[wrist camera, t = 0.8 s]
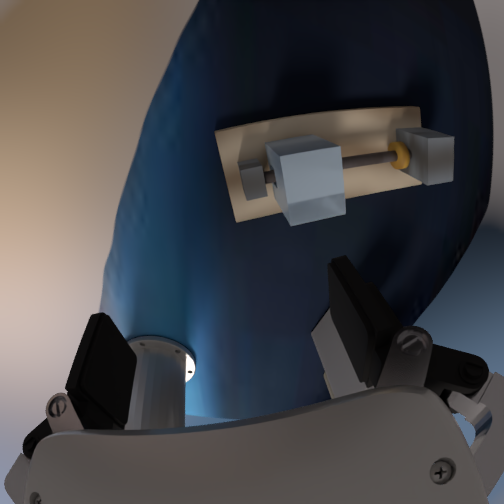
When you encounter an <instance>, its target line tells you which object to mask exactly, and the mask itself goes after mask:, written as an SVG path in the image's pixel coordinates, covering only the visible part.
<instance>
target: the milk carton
mask: <svg viewBox="0 0 504 504" xmlns="http://www.w3.org/2000/svg"><path fill="white" fill-rule="evenodd" d="M311 335H312V338H313V340H314V343H315V346H316V348H317V351H318V353H319V356H320V359H321V361H322V364H323V367H324V370H325V372H326V375H327V378H328V380H329V383H330V386H331V389H332V391H333V394H334V397H335V398H338V397H341V396H345V395H349V394H352V393H356V392H360V391H364V390H368V389H373V388H374V386H372V387H370V388H367V387H366V385H365V382H362V383H360V382H359V380H358V377H357V375H356V373H355V370H354V368H353V366H352V363H351V361H350V359H349V357H348V354H347V352H346V350H345V347H344V345H343V343H342V341H341V338H340V336H339V334H338V332H337V330H336V327H335V325H334V323H333V321H332V318H331V314H330V308H329V310H328V311H327V312H326V314H325V315H324V317H323V318H322V319H321V321H320V322H319V323H318V325H317V326H316V327H315V329H314V330H313V331H312V333H311Z"/></svg>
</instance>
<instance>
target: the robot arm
mask: <svg viewBox="0 0 504 504" xmlns="http://www.w3.org/2000/svg"><path fill="white" fill-rule="evenodd" d="M328 281H329V299H330V314H331V318H332V321H333V323H334V325H335V327H336V330H337V332H338V334H339V336H340V338H341V341H342V343H343V345H344V347H345V350H346V352H347V354H348V357H349V359H350V361H351V363H352V366H353V368H354V370H355V373H356V375H357V377H358V380H359V382H360V383H362V382H365V385H366V387H367V388H370V387H372V386H374V388H373V389H368V390H364V391H360V392H356V393H352V394H349V395H345V396H341V397H338V398H334V399H331V400H327V401H323V402H320V403H316V404H312V405H308V406H304V407H300V408H296V409H292V410H287V411H283V412H278V413H274V414H269V415H264V416H259V417H253V418H248V419H242V420H236V421H229V422H223V423H215V424H207V425H199V426H189V427H185V386H186V382H187V381H188V380H190V379H191V378H192V377H193V375H194V373H195V369H196V363H195V359H194V357H193V355H192V353H191V352H190V351H189V350H188V349H187V348H185V347H184V346H183V345H181V344H179V343H177V342H175V341H173V340H170V339H167V338H163V337H158V336H142V337H137V338H134V339H132V340H130V341H128V342H127V341H126V340H125V338H124V337H123V336H122V334H121V333H120V331H119V330H118V328H117V327H116V325H115V324H114V322H113V321H112V319H111V318H110V316H109V315H106V314H105V313H103V312H102V313H97V314H92V315H91V317H90V319H89V321H88V324H87V326H86V329H85V331H84V334H83V337H82V339H81V342H80V345H79V348H78V350H77V353H76V356H75V359H74V362H73V365H72V368H71V370H70V374H69V377H68V380H67V383H66V386H65V389H66V390H67V391H68V392H67V395H66V394H65V393H57V394H55V395H54V396H53V397H51V398H50V400H49V401H48V403H47V406H46V416H47V418H46V419H45V420H44V421H43V422H42V423H41V424H39V425H38V426H37V427H36V428H35V429H34V430H33V431H31V432H30V433H29V434H28V435H27V436H26V438H25V439H24V442H23V453H24V455H23V454H22V453H21V454H20V455H19V457H18V458H17V460H16V462H15V463H14V465H13V466H12V468H11V469H10V471H9V473H8V474H7V476H6V478H5V483H4V485H5V489H6V491H7V493H8V495H9V496H10V497H11V499H12V500H13V502H14V503H15V504H489V503H488V500H487V496H488V495H489V494H490V492H491V491H492V489H493V488H494V486H495V485H496V483H497V481H498V480H499V478H500V476H501V475H502V473H503V471H504V377H503V376H502V375H500V374H498V373H497V372H495V373H494V374H492V373H491V372H489V369H488V366H487V364H486V362H485V361H484V360H483V359H482V358H481V357H479V356H476V355H473V354H469V353H466V352H462V351H458V350H454V349H450V348H447V347H443V346H439V345H436V344H433V340H432V338H431V336H430V334H429V333H428V332H427V331H426V330H424V329H423V328H420V327H417V326H407V327H403V326H402V324H401V323H400V321H399V320H398V318H397V317H396V315H395V314H394V312H393V311H392V309H391V308H390V306H389V305H388V303H387V302H386V300H385V299H384V297H383V296H382V294H381V293H380V292H379V290H378V289H377V287H376V286H375V285H374V284H373V283H372V282H369V283H365V282H364V281H363V279H362V278H361V276H360V275H359V273H358V272H357V270H356V269H355V267H354V266H353V265H352V263H351V262H350V260H349V259H348V257H347V256H345V255H344V256H340V257H337V258H333V259H332V260H331V263H328ZM452 413H454V414H456V413H460V414H462V415H463V416H465V417H466V418H465V420H467V421H468V422H470V423H471V424H472V425H473V426H474V428H475V431H476V436H475V440H474V442H473V444H472V445H471V447H470V448H469V446H468V444H467V442H466V439H465V437H464V435H463V433H462V431H461V429H460V427H459V425H458V423H457V422H456V420H455V418H454V417H453V415H452ZM433 463H434V464H433Z"/></svg>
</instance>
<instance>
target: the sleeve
mask: <svg viewBox="0 0 504 504" xmlns="http://www.w3.org/2000/svg"><path fill="white" fill-rule="evenodd" d="M265 148H266V154H267V159H268V164H269V170H274V172H275V178H276V182H274V183H272V186H273V192H274V197H275V199H276V201H277V203H278V205H279V206H280V208H281V210H282V212H283V213H284V215H285V217H286V218H287V220H288V222H289V224H290V225H291V226H294V225H298V224H303V223H307V222H311V221H316V220H320V219H325V218H329V217H334V216H339V215H343V214H346V208H345V192H344V179H343V167H342V156H341V147H340V146H339V145H336V144H334V143H332V142H330V141H327V140H325V139H323V138H320V137H318V136H315V135H313V134H312V135H305V136H299V137H293V138H287V139H281V140H276V141H271V142H265Z"/></svg>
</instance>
